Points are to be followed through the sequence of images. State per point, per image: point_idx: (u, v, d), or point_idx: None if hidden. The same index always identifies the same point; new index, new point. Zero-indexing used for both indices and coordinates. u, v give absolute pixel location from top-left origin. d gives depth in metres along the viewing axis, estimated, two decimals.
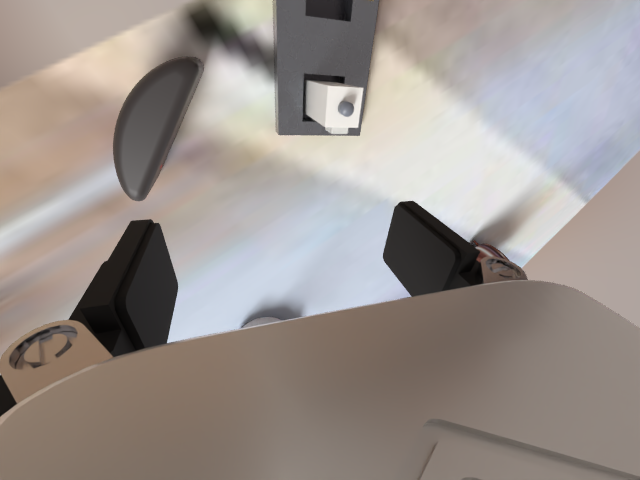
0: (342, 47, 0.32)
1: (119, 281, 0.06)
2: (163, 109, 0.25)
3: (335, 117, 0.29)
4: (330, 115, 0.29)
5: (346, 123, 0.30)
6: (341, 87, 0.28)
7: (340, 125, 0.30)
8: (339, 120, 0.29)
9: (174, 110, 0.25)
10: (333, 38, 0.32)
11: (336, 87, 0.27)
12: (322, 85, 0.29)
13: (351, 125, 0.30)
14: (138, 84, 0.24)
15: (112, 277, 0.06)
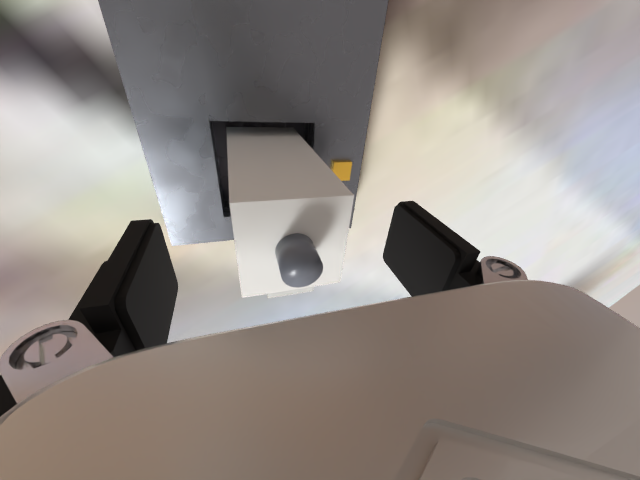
0: (304, 56, 0.13)
1: (119, 281, 0.06)
2: None
3: (271, 273, 0.10)
4: (254, 271, 0.09)
5: None
6: (280, 201, 0.08)
7: (289, 286, 0.10)
8: None
9: None
10: (278, 33, 0.12)
11: (262, 204, 0.08)
12: (229, 180, 0.09)
13: (321, 281, 0.11)
14: None
15: (112, 277, 0.06)
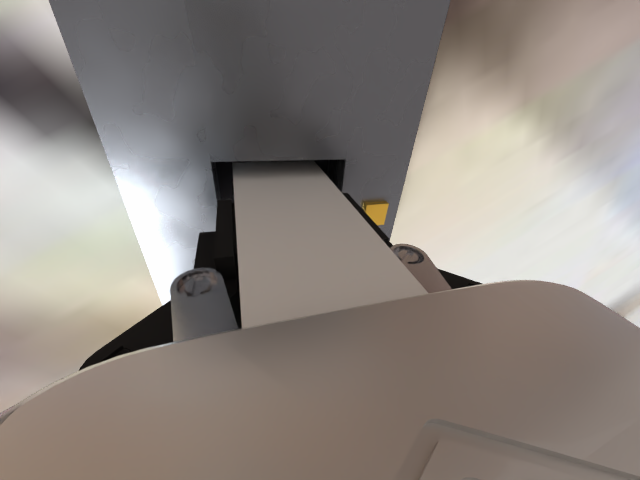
0: (337, 77, 0.10)
1: (233, 241, 0.08)
2: None
3: None
4: None
5: None
6: None
7: None
8: None
9: None
10: (304, 48, 0.09)
11: None
12: (239, 274, 0.06)
13: None
14: None
15: (225, 239, 0.08)
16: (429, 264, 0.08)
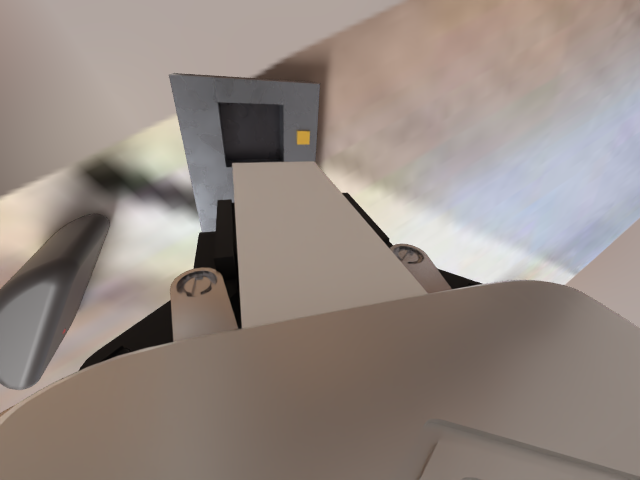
0: None
1: (233, 242, 0.08)
2: (33, 317, 0.20)
3: None
4: None
5: None
6: None
7: None
8: None
9: (49, 314, 0.21)
10: None
11: None
12: None
13: None
14: None
15: (225, 239, 0.08)
16: (429, 264, 0.08)
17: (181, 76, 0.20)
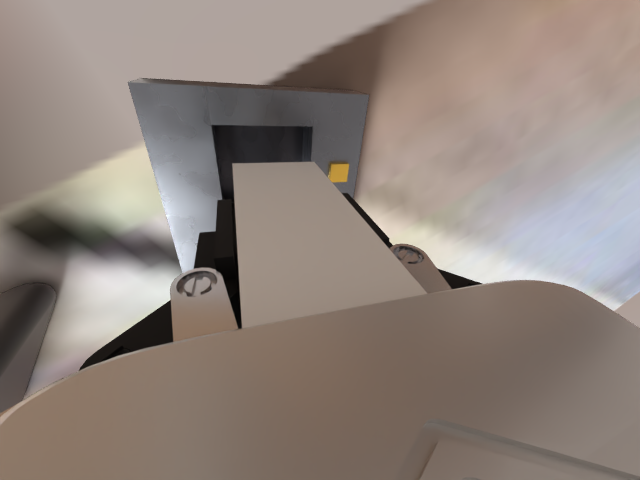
0: None
1: (232, 242, 0.08)
2: None
3: None
4: None
5: None
6: None
7: None
8: None
9: None
10: None
11: None
12: None
13: None
14: None
15: (225, 239, 0.08)
16: (429, 264, 0.08)
17: (149, 84, 0.12)
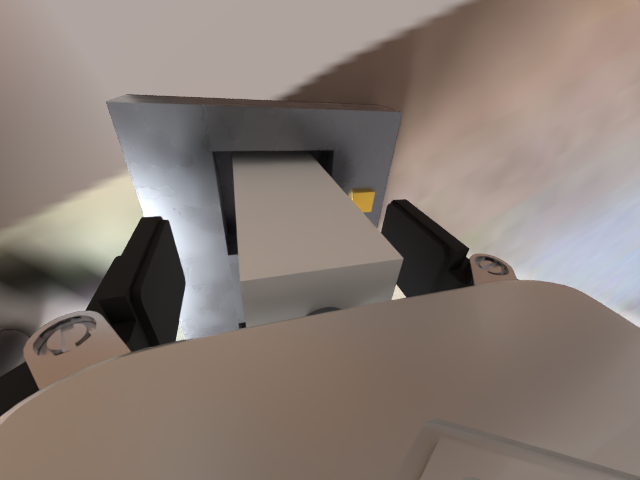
0: None
1: (133, 274, 0.06)
2: None
3: None
4: None
5: None
6: (307, 273, 0.06)
7: None
8: None
9: None
10: None
11: (283, 278, 0.06)
12: None
13: None
14: None
15: (126, 270, 0.06)
16: (512, 279, 0.07)
17: (134, 104, 0.10)
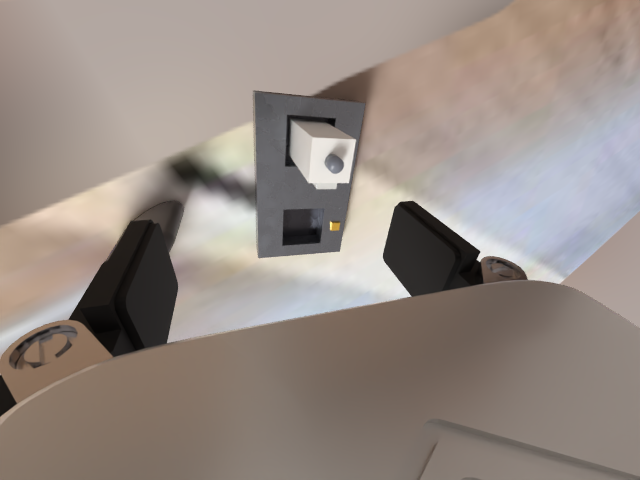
0: None
1: (119, 281, 0.06)
2: None
3: (321, 172, 0.24)
4: (315, 170, 0.24)
5: (334, 178, 0.25)
6: (329, 139, 0.23)
7: (327, 180, 0.25)
8: (326, 175, 0.24)
9: None
10: None
11: (322, 139, 0.22)
12: (306, 133, 0.24)
13: (341, 180, 0.25)
14: None
15: (112, 277, 0.06)
16: None
17: (263, 94, 0.26)
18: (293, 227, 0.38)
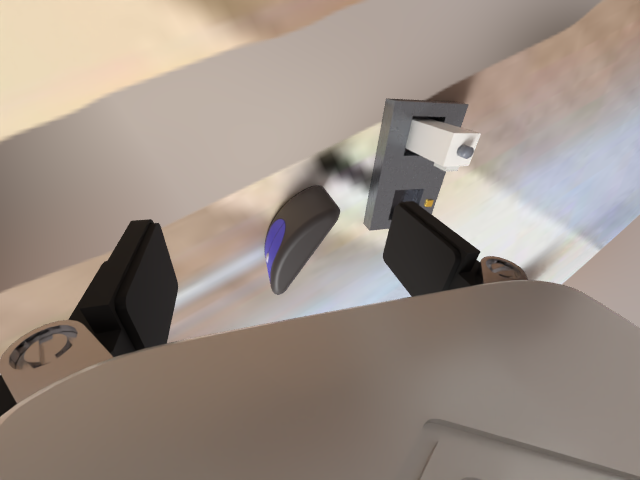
0: (425, 171, 0.42)
1: (119, 281, 0.06)
2: (314, 241, 0.35)
3: (453, 158, 0.33)
4: (449, 156, 0.33)
5: (460, 162, 0.34)
6: (463, 133, 0.32)
7: (455, 164, 0.34)
8: (455, 160, 0.33)
9: (321, 240, 0.35)
10: (420, 166, 0.41)
11: (460, 134, 0.31)
12: (442, 130, 0.33)
13: (464, 164, 0.34)
14: (302, 228, 0.34)
15: (112, 277, 0.06)
16: None
17: (400, 101, 0.35)
18: (393, 205, 0.47)
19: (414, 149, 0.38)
